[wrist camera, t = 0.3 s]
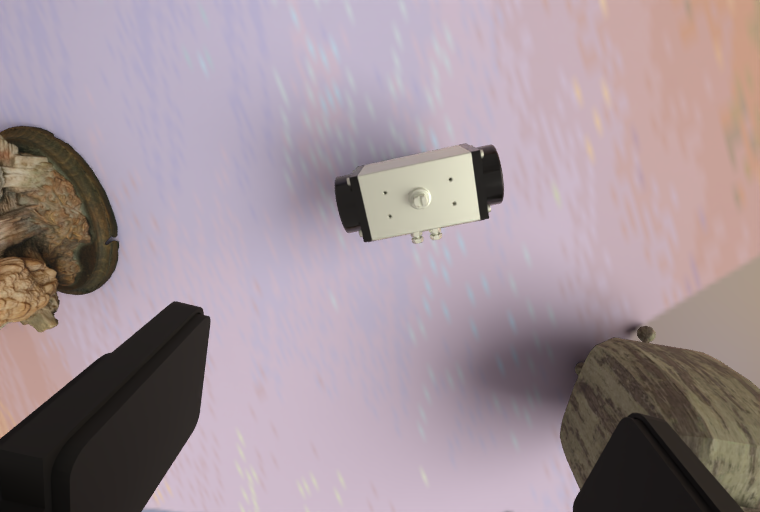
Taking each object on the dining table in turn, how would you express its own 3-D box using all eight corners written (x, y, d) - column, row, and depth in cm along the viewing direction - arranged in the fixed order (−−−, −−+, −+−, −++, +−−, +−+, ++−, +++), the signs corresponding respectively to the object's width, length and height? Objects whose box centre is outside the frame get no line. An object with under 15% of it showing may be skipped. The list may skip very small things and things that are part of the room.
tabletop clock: (615, 427, 46) (840, 754, 23) (537, 414, 46) (683, 730, 22) (665, 316, 41) (1019, 585, 18) (578, 301, 41) (818, 553, 18)
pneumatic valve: (347, 163, 38) (325, 184, 26) (473, 136, 36) (507, 146, 25) (360, 219, 39) (345, 262, 28) (481, 195, 38) (516, 230, 27)
